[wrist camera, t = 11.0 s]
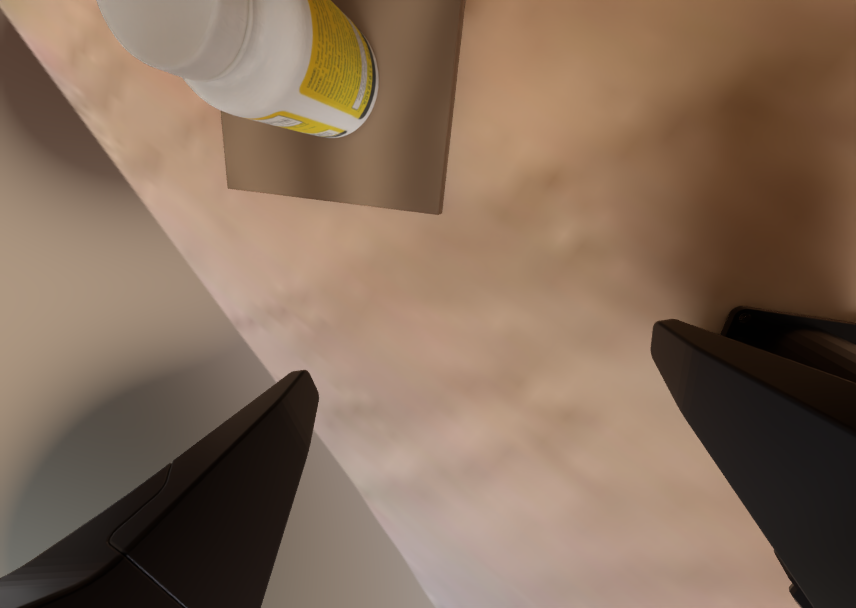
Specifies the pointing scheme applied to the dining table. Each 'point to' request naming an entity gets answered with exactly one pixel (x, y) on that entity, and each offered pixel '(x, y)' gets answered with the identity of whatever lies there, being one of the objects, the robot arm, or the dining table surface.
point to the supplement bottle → (258, 57)
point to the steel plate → (369, 120)
